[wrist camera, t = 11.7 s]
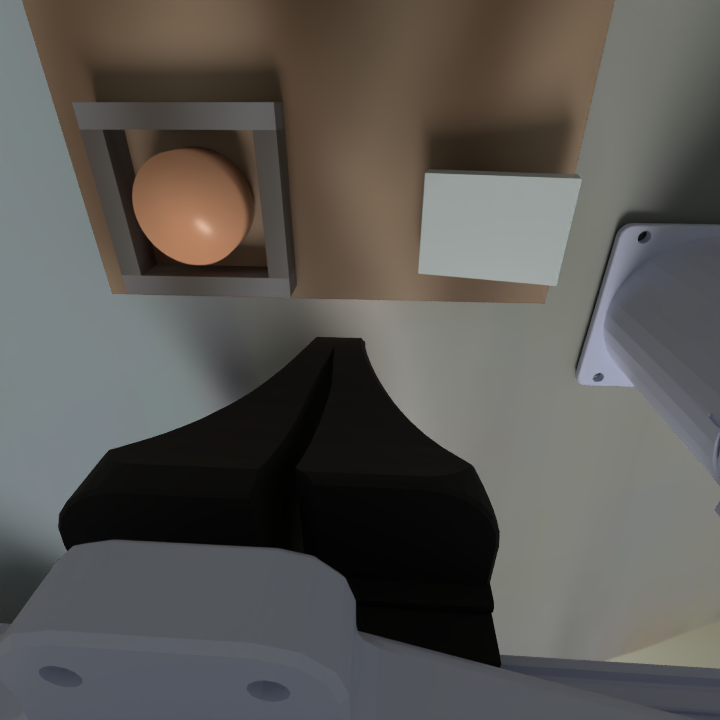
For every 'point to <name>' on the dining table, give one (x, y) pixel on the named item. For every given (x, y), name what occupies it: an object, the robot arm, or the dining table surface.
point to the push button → (193, 204)
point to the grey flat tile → (496, 224)
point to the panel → (316, 126)
